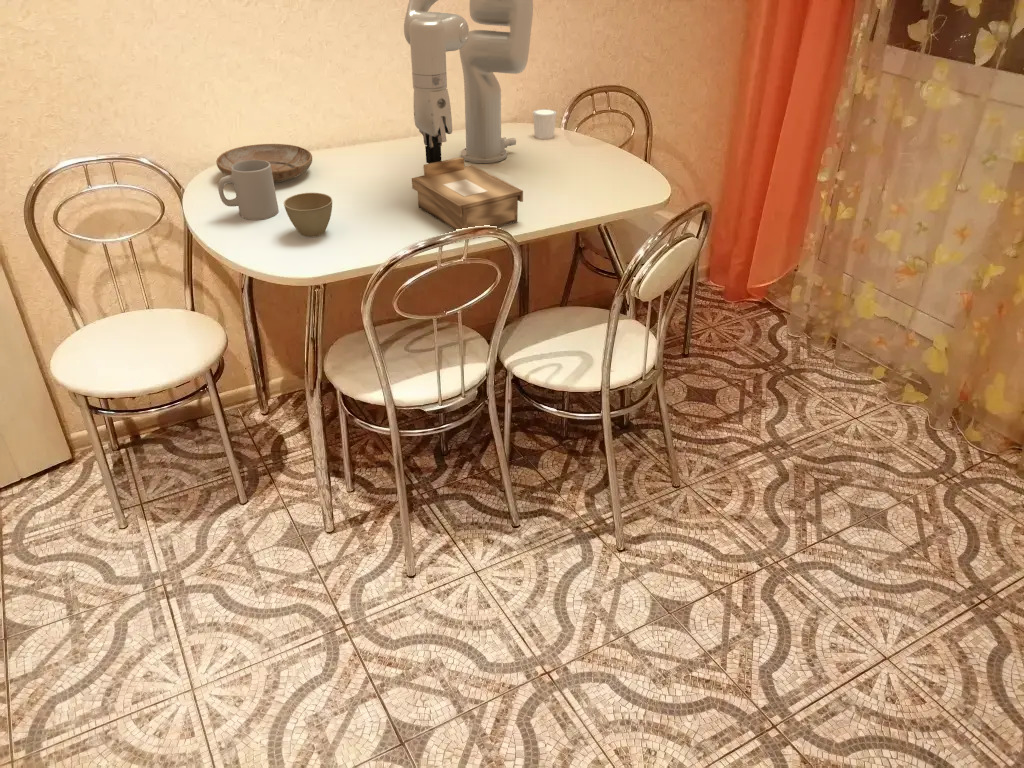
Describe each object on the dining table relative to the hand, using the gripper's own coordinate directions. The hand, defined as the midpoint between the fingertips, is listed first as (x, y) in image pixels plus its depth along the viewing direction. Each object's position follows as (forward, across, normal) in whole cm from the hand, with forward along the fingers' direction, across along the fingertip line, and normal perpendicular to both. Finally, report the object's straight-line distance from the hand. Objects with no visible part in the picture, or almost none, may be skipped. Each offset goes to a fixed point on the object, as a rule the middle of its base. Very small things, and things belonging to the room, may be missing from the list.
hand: (433, 162), depth 180 cm
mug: (+8, +13, +40) cm, 43 cm away
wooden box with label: (+4, -14, 0) cm, 15 cm away
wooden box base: (+8, -14, 0) cm, 16 cm away
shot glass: (+8, +25, -51) cm, 57 cm away
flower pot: (+8, -4, +33) cm, 34 cm away
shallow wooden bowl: (+9, +37, +28) cm, 47 cm away
